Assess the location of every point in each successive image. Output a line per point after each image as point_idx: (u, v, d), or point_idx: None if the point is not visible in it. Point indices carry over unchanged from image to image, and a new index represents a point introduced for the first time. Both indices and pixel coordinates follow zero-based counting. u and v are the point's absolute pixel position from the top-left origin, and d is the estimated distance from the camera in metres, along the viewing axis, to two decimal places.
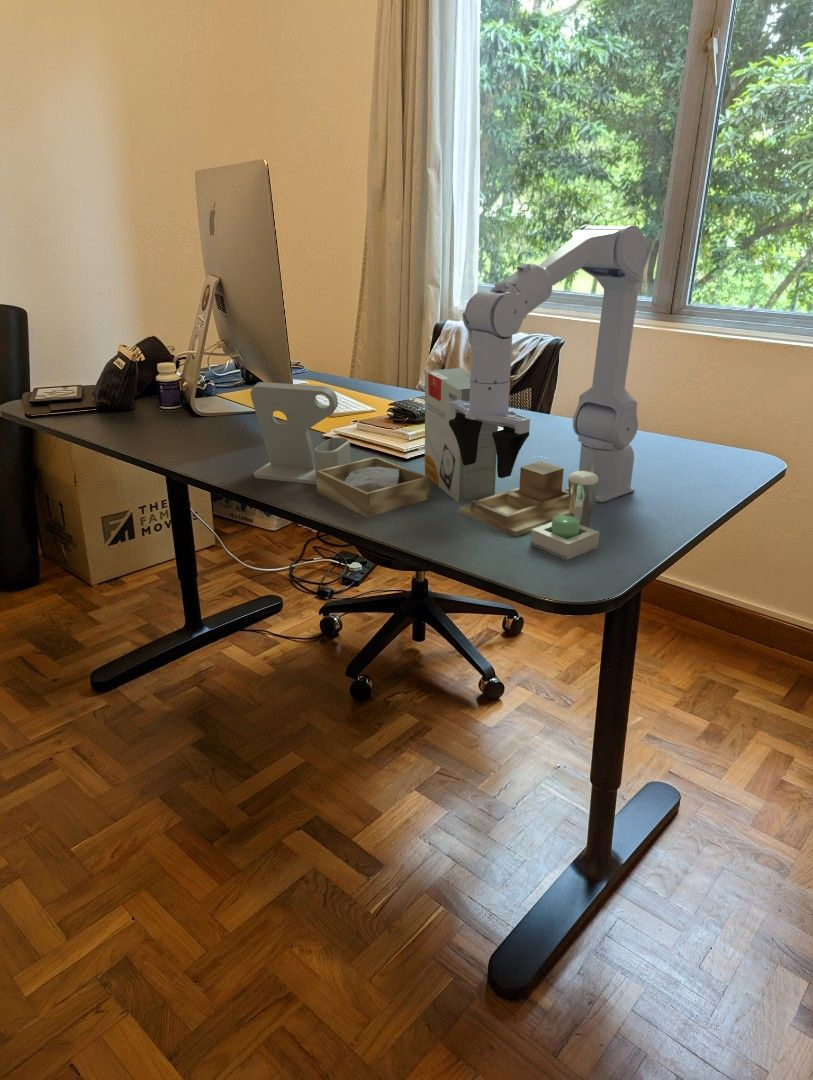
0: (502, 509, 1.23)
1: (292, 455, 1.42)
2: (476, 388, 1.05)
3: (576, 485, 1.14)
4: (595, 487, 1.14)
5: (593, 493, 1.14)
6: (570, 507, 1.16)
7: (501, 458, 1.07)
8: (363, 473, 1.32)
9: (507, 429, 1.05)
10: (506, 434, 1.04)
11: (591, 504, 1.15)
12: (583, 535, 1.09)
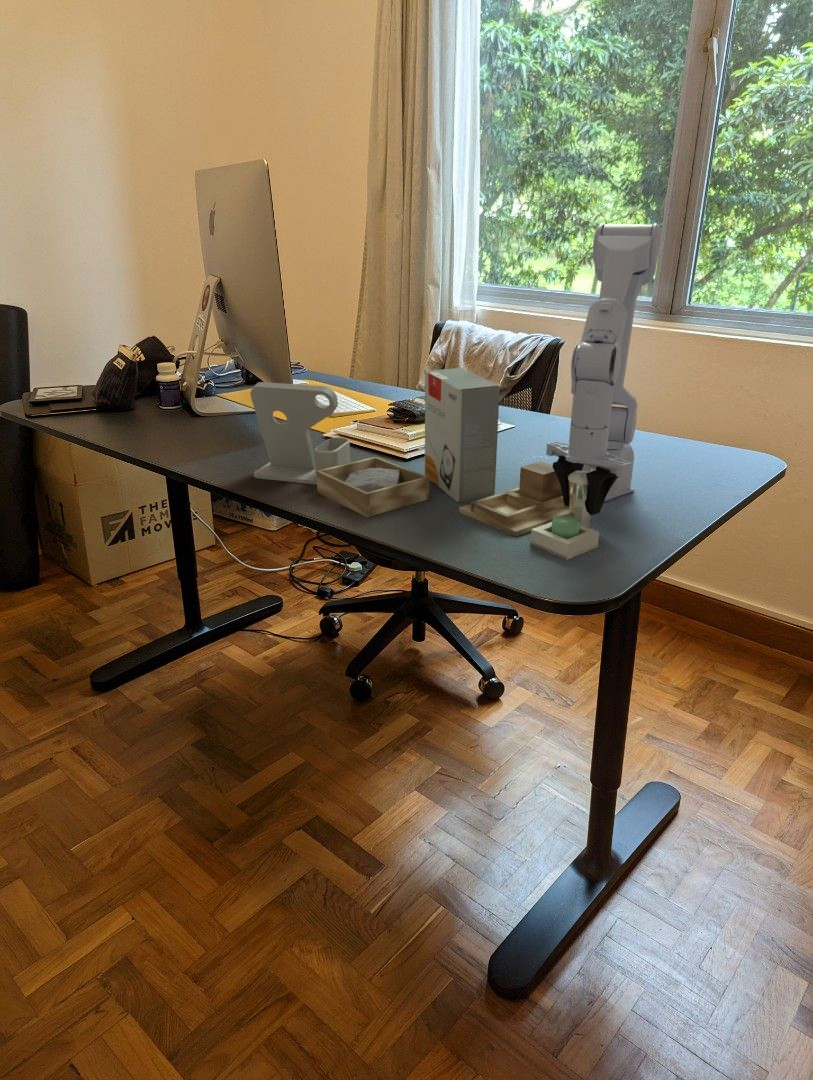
0: (502, 509, 1.23)
1: (292, 455, 1.42)
2: (578, 433, 1.10)
3: (576, 485, 1.14)
4: None
5: None
6: (570, 507, 1.16)
7: (593, 497, 1.13)
8: (363, 474, 1.32)
9: (600, 470, 1.11)
10: (601, 475, 1.10)
11: None
12: (583, 535, 1.09)
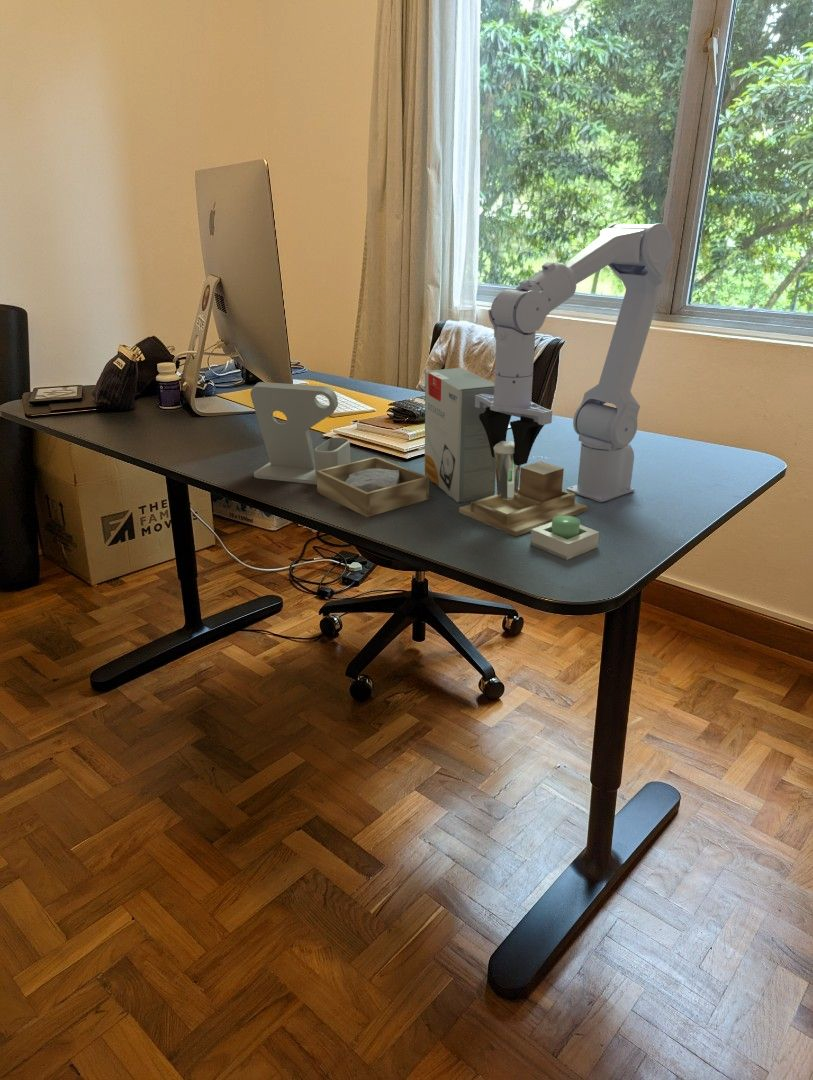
0: (502, 509, 1.23)
1: (292, 455, 1.42)
2: (501, 381, 1.11)
3: (500, 455, 1.16)
4: None
5: None
6: (497, 477, 1.18)
7: (518, 446, 1.13)
8: (363, 474, 1.32)
9: (524, 419, 1.12)
10: (524, 424, 1.11)
11: (516, 473, 1.17)
12: (583, 535, 1.09)
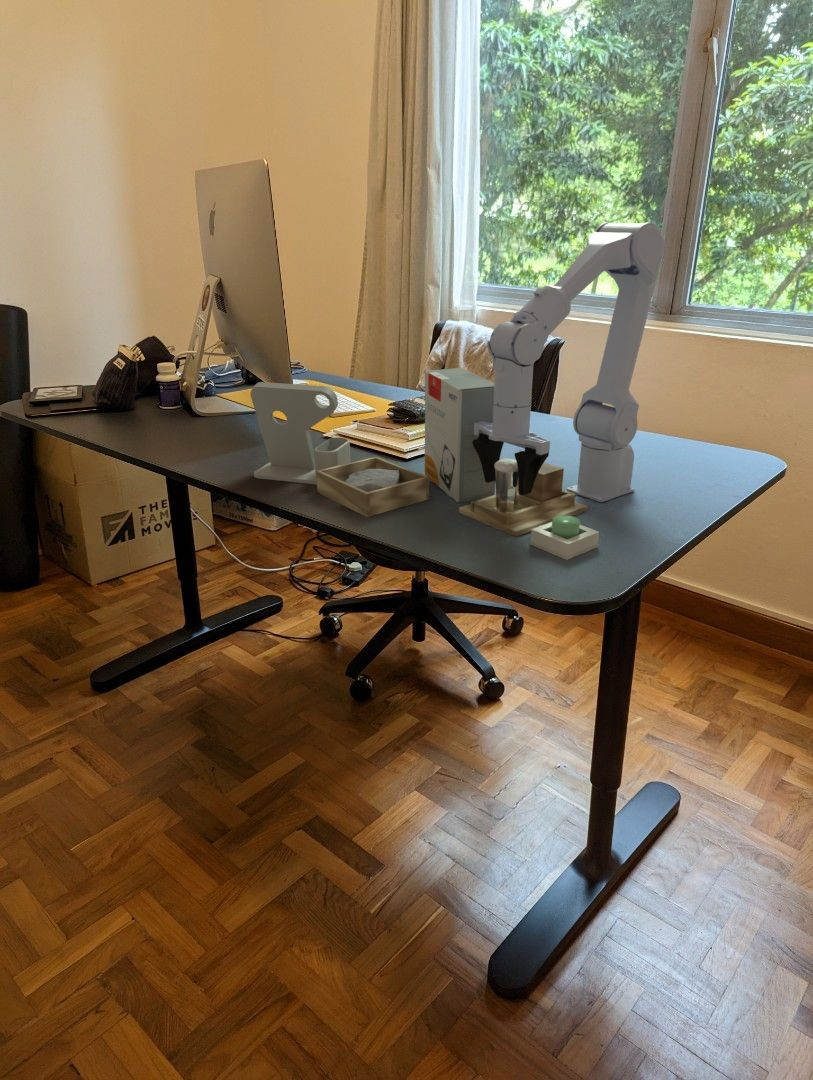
0: None
1: (292, 455, 1.42)
2: (499, 412, 1.13)
3: (501, 472, 1.17)
4: None
5: (517, 480, 1.17)
6: (496, 494, 1.19)
7: (522, 477, 1.14)
8: (363, 475, 1.32)
9: (528, 450, 1.13)
10: (528, 455, 1.11)
11: (516, 491, 1.18)
12: (583, 535, 1.09)
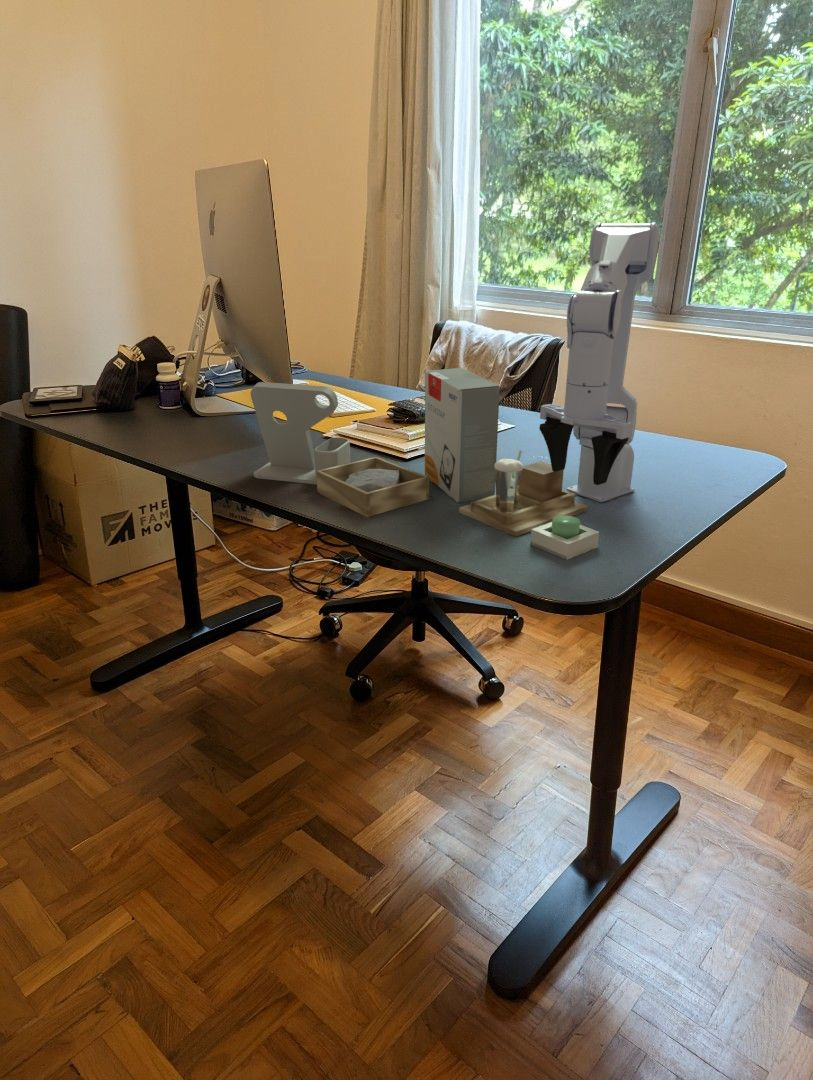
0: None
1: (292, 455, 1.42)
2: (574, 391, 1.01)
3: (501, 472, 1.17)
4: (519, 474, 1.17)
5: (517, 480, 1.17)
6: (496, 494, 1.19)
7: (599, 464, 1.02)
8: (363, 475, 1.32)
9: (607, 434, 1.01)
10: (608, 439, 1.00)
11: (516, 491, 1.18)
12: (583, 535, 1.09)
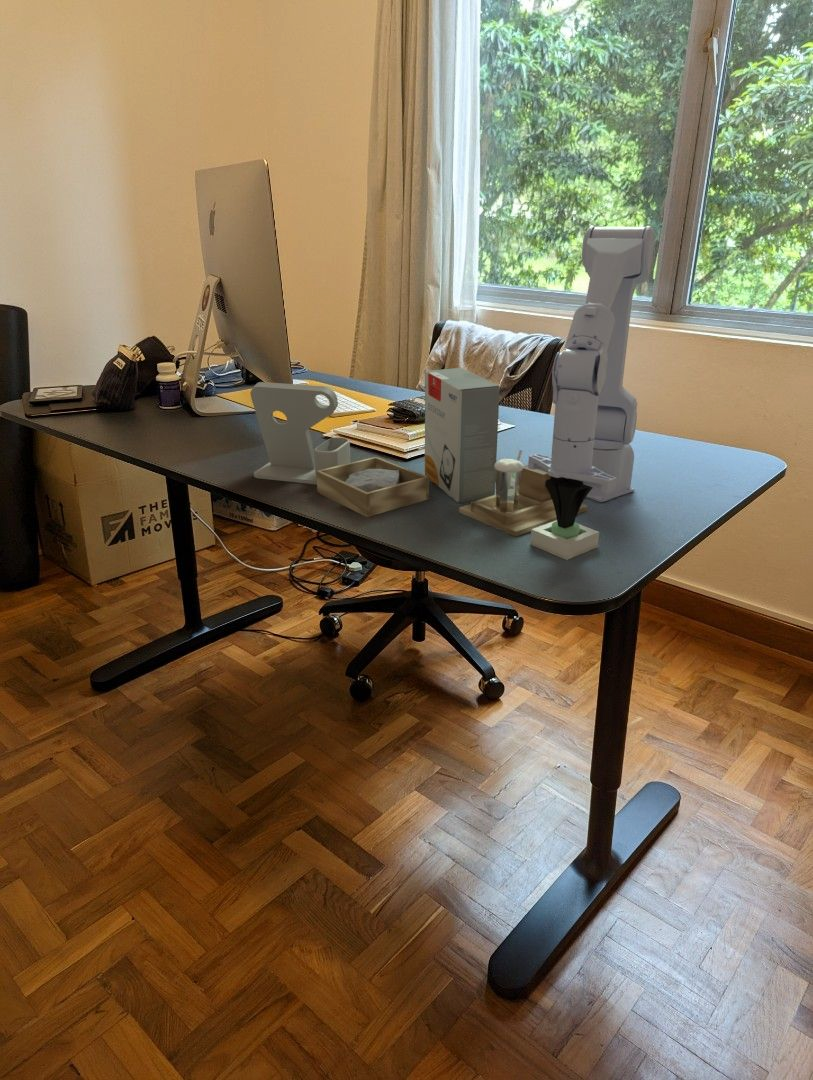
0: None
1: (292, 455, 1.42)
2: (560, 446, 1.03)
3: (501, 472, 1.17)
4: (519, 474, 1.17)
5: (517, 480, 1.17)
6: (496, 494, 1.19)
7: (565, 509, 1.07)
8: (363, 475, 1.32)
9: (572, 481, 1.06)
10: (573, 487, 1.04)
11: (516, 491, 1.18)
12: (583, 535, 1.09)
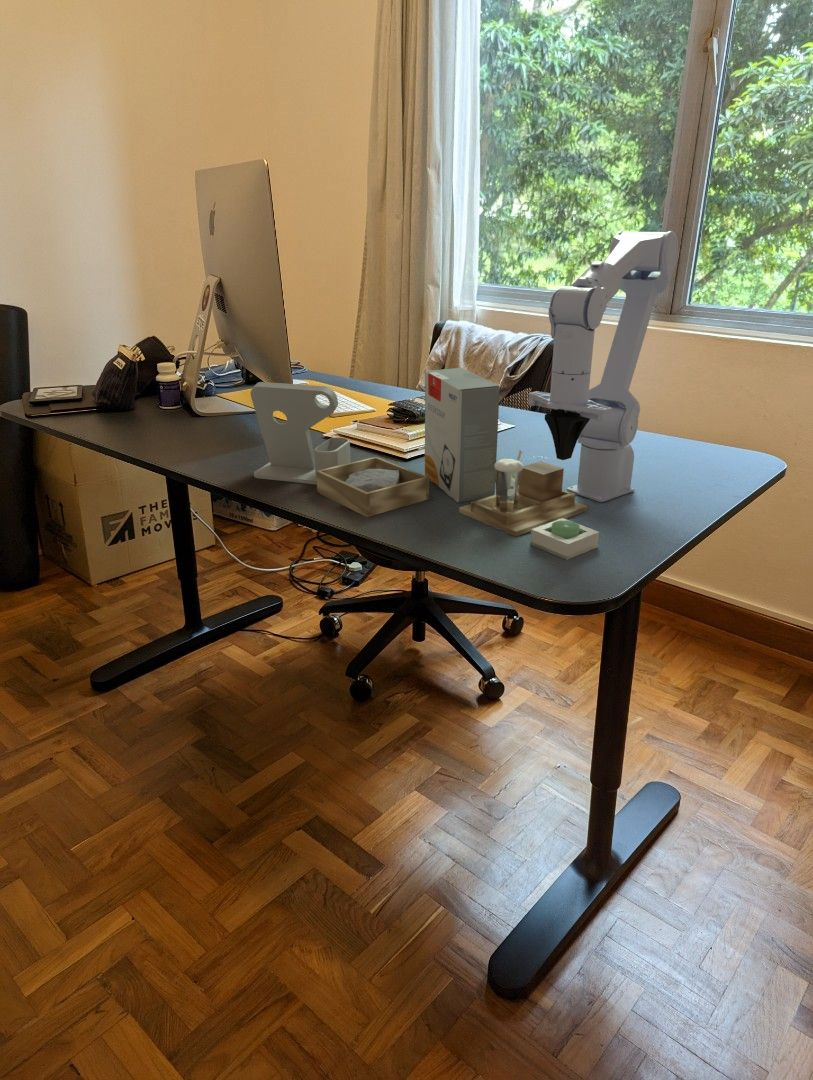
0: None
1: (292, 455, 1.42)
2: (559, 379, 1.10)
3: (501, 472, 1.17)
4: (519, 474, 1.17)
5: (517, 480, 1.17)
6: (496, 494, 1.19)
7: (564, 441, 1.14)
8: (363, 475, 1.32)
9: (570, 414, 1.13)
10: (570, 418, 1.11)
11: (516, 491, 1.18)
12: (583, 535, 1.09)
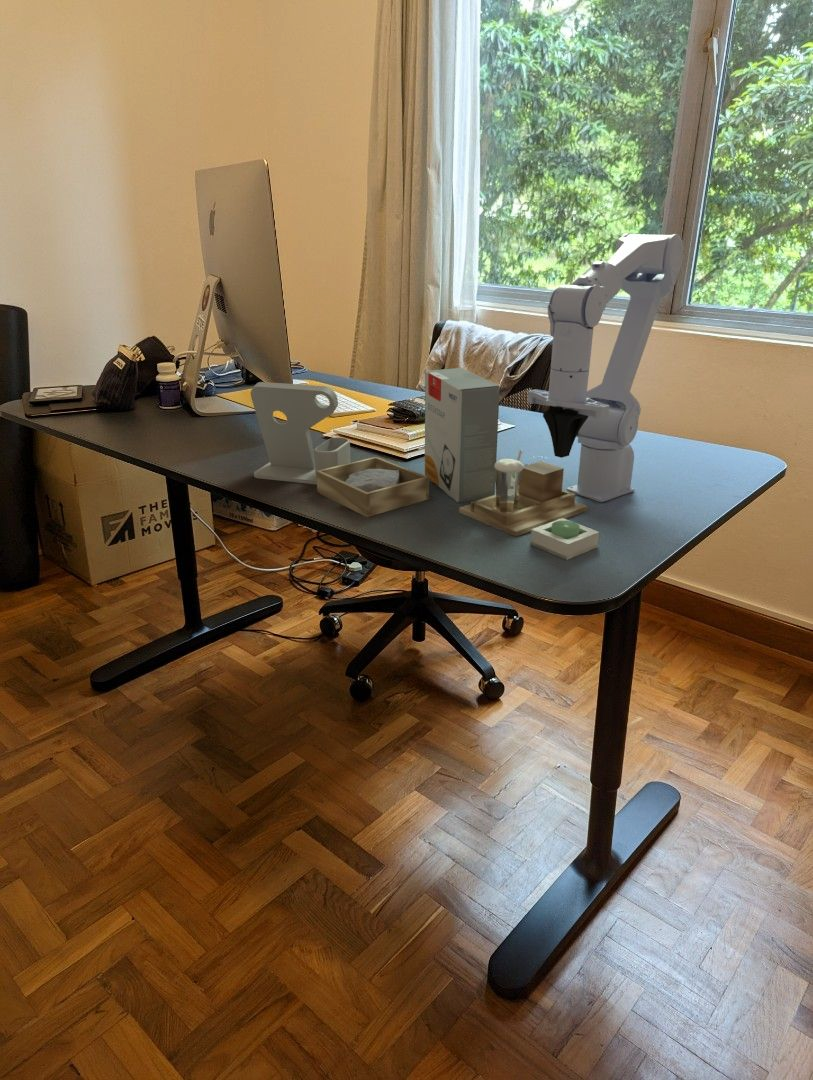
0: None
1: (292, 455, 1.42)
2: (557, 376, 1.11)
3: (501, 472, 1.17)
4: (519, 474, 1.17)
5: (517, 480, 1.17)
6: (496, 494, 1.19)
7: (562, 438, 1.15)
8: (363, 475, 1.32)
9: (568, 411, 1.13)
10: (569, 416, 1.12)
11: (516, 491, 1.18)
12: (583, 535, 1.09)
